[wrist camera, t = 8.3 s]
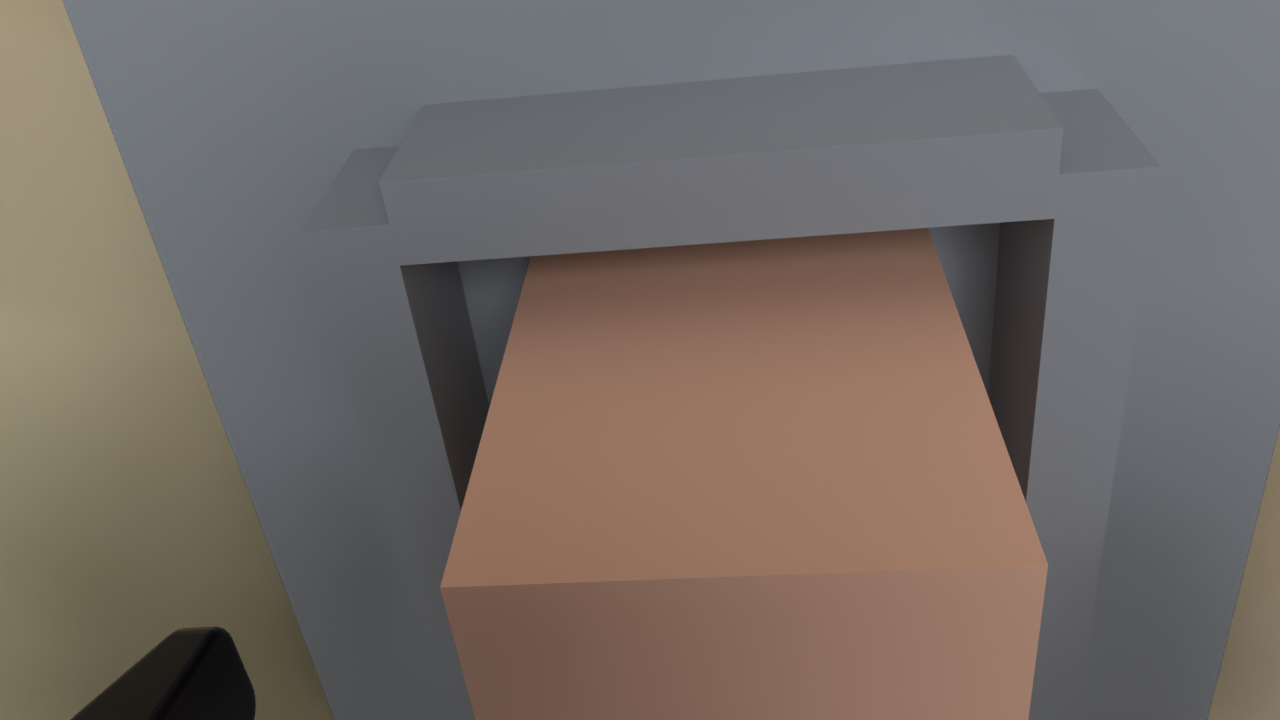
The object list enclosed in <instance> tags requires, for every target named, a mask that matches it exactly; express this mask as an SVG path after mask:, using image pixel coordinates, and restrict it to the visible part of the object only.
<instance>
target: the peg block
mask: <svg viewBox="0 0 1280 720" xmlns="http://www.w3.org/2000/svg"><path fill="white" fill-rule="evenodd" d="M1047 570H1048V563H1047V560H1046V557H1045V554H1044V552H1043V549H1042V546H1041V543H1040V540H1039V538H1038V535H1037V532H1036V529H1035V526H1034V524H1033V521H1032V518H1031V515H1030V512H1029V510H1028V507H1027V504H1026V501H1025V498H1024V496H1023V493H1022V490H1021V487H1020V484H1019V482H1018V479H1017V476H1016V473H1015V470H1014V468H1013V465H1012V462H1011V459H1010V456H1009V454H1008V451H1007V448H1006V445H1005V442H1004V440H1003V437H1002V434H1001V431H1000V428H999V426H998V423H997V420H996V417H995V414H994V412H993V409H992V406H991V403H990V400H989V398H988V395H987V392H986V389H985V386H984V384H983V381H982V378H981V375H980V372H979V370H978V367H977V364H976V361H975V358H974V356H973V353H972V350H971V347H970V344H969V342H968V339H967V336H966V333H965V330H964V328H963V325H962V322H961V319H960V316H959V314H958V311H957V308H956V305H955V302H954V300H953V297H952V294H951V291H950V288H949V286H948V283H947V280H946V277H945V274H944V272H943V269H942V266H941V263H940V260H939V258H938V255H937V252H936V249H935V246H934V244H933V241H932V238H931V235H930V232H929V230H928V228H918V229H904V230H890V231H876V232H862V233H848V234H834V235H820V236H807V237H793V238H779V239H765V240H751V241H737V242H723V243H709V244H695V245H681V246H667V247H653V248H639V249H625V250H611V251H597V252H583V253H569V254H555V255H541V256H531V258H530V262H529V265H528V269H527V273H526V276H525V280H524V284H523V287H522V291H521V295H520V298H519V302H518V305H517V309H516V313H515V316H514V320H513V324H512V327H511V331H510V335H509V338H508V342H507V346H506V349H505V353H504V356H503V360H502V364H501V367H500V371H499V375H498V378H497V382H496V386H495V389H494V393H493V397H492V400H491V404H490V407H489V411H488V415H487V418H486V422H485V426H484V429H483V433H482V437H481V440H480V444H479V448H478V451H477V455H476V458H475V462H474V466H473V469H472V473H471V477H470V480H469V484H468V488H467V491H466V495H465V499H464V502H463V506H462V509H461V513H460V517H459V520H458V524H457V528H456V531H455V535H454V539H453V542H452V546H451V550H450V553H449V557H448V560H447V564H446V568H445V571H444V575H443V579H442V582H441V586H440V589H441V593H442V597H443V601H444V604H445V608H446V612H447V616H448V619H449V623H450V627H451V631H452V634H453V638H454V642H455V645H456V649H457V653H458V657H459V660H460V664H461V668H462V672H463V675H464V679H465V683H466V687H467V690H468V694H469V698H470V702H471V705H472V709H473V713H474V717H475V720H1028V718H1029V710H1030V702H1031V695H1032V687H1033V679H1034V671H1035V664H1036V656H1037V648H1038V640H1039V632H1040V625H1041V617H1042V609H1043V601H1044V594H1045V586H1046V578H1047Z"/></svg>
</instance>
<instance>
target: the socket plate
mask: <svg viewBox="0 0 1280 720" xmlns="http://www.w3.org/2000/svg"><path fill="white" fill-rule="evenodd" d="M62 1H63V3H64V6H65V8H66V11H67V14H68V16H69V19H70V22H71V24H72V27H73V30H74V32H75V35H76V38H77V40H78V43H79V46H80V48H81V51H82V53H83V56H84V59H85V61H86V64H87V67H88V69H89V72H90V75H91V77H92V80H93V83H94V85H95V88H96V90H97V93H98V96H99V98H100V101H101V104H102V106H103V109H104V112H105V114H106V117H107V120H108V122H109V125H110V128H111V130H112V133H113V135H114V138H115V141H116V143H117V146H118V149H119V151H120V154H121V157H122V159H123V162H124V165H125V167H126V170H127V172H128V175H129V178H130V180H131V183H132V186H133V188H134V191H135V194H136V196H137V199H138V202H139V204H140V207H141V210H142V212H143V215H144V217H145V220H146V223H147V225H148V228H149V231H150V233H151V236H152V239H153V241H154V244H155V247H156V249H157V252H158V254H159V257H160V260H161V262H162V265H163V268H164V270H165V273H166V276H167V278H168V281H169V284H170V286H171V289H172V292H173V294H174V297H175V299H176V302H177V305H178V307H179V310H180V313H181V315H182V318H183V321H184V323H185V326H186V329H187V331H188V334H189V336H190V339H191V342H192V344H193V347H194V350H195V352H196V355H197V358H198V360H199V363H200V366H201V368H202V371H203V374H204V376H205V379H206V381H207V384H208V387H209V389H210V392H211V395H212V397H213V400H214V403H215V405H216V408H217V411H218V413H219V416H220V419H221V421H222V424H223V426H224V429H225V432H226V434H227V437H228V440H229V442H230V445H231V448H232V450H233V453H234V456H235V458H236V461H237V463H238V466H239V469H240V471H241V474H242V477H243V479H244V482H245V485H246V487H247V490H248V493H249V495H250V498H251V501H252V503H253V506H254V508H255V511H256V514H257V516H258V519H259V522H260V524H261V527H262V530H263V532H264V535H265V538H266V540H267V543H268V545H269V548H270V551H271V553H272V556H273V559H274V561H275V564H276V567H277V569H278V572H279V575H280V577H281V580H282V583H283V585H284V588H285V590H286V593H287V596H288V598H289V601H290V604H291V606H292V609H293V612H294V614H295V617H296V620H297V622H298V625H299V627H300V630H301V633H302V635H303V638H304V641H305V643H306V646H307V649H308V651H309V654H310V657H311V659H312V662H313V665H314V667H315V670H316V672H317V675H318V678H319V680H320V683H321V686H322V688H323V691H324V694H325V696H326V699H327V702H328V704H329V707H330V709H331V712H332V715H333V717H334V720H475V717H474V713H473V709H472V705H471V702H470V698H469V694H468V690H467V687H466V683H465V679H464V675H463V672H462V668H461V664H460V660H459V657H458V653H457V649H456V645H455V642H454V638H453V634H452V631H451V627H450V623H449V619H448V616H447V612H446V608H445V604H444V601H443V597H442V593H441V589H440V586H441V582H442V579H443V575H444V571H445V568H446V564H447V560H448V557H449V553H450V550H451V546H452V542H453V539H454V535H455V531H456V528H457V524H458V520H459V517H460V513H461V509H462V506H463V502H464V499H465V495H466V491H467V488H468V484H469V480H470V477H471V473H472V469H473V466H474V462H475V458H476V455H477V451H478V448H479V444H480V440H481V437H482V433H483V429H484V426H485V422H486V418H487V415H488V411H489V407H490V404H491V400H492V397H493V393H494V389H495V386H496V382H497V378H498V375H499V371H500V367H501V364H502V360H503V356H504V353H505V349H506V346H507V342H508V338H509V335H510V331H511V327H512V324H513V320H514V316H515V313H516V309H517V305H518V302H519V298H520V295H521V291H522V287H523V284H524V280H525V276H526V273H527V269H528V265H529V262H530V258H531V256H541V255H555V254H569V253H583V252H597V251H611V250H625V249H639V248H653V247H667V246H681V245H695V244H709V243H723V242H737V241H751V240H765V239H779V238H793V237H807V236H820V235H834V234H848V233H862V232H876V231H890V230H904V229H918V228H928V230H929V232H930V235H931V238H932V241H933V244H934V246H935V249H936V252H937V255H938V258H939V260H940V263H941V266H942V269H943V272H944V274H945V277H946V280H947V283H948V286H949V288H950V291H951V294H952V297H953V300H954V302H955V305H956V308H957V311H958V314H959V316H960V319H961V322H962V325H963V328H964V330H965V333H966V336H967V339H968V342H969V344H970V347H971V350H972V353H973V356H974V358H975V361H976V364H977V367H978V370H979V372H980V375H981V378H982V381H983V384H984V386H985V389H986V392H987V395H988V398H989V400H990V403H991V406H992V409H993V412H994V414H995V417H996V420H997V423H998V426H999V428H1000V431H1001V434H1002V437H1003V440H1004V442H1005V445H1006V448H1007V451H1008V454H1009V456H1010V459H1011V462H1012V465H1013V468H1014V470H1015V473H1016V476H1017V479H1018V482H1019V484H1020V487H1021V490H1022V493H1023V496H1024V498H1025V501H1026V504H1027V507H1028V510H1029V512H1030V515H1031V518H1032V521H1033V524H1034V526H1035V529H1036V532H1037V535H1038V538H1039V540H1040V543H1041V546H1042V549H1043V552H1044V554H1045V557H1046V560H1047V563H1048V570H1047V578H1046V586H1045V594H1044V601H1043V609H1042V617H1041V625H1040V632H1039V640H1038V648H1037V656H1036V664H1035V671H1034V679H1033V687H1032V695H1031V702H1030V710H1029V718H1028V720H1207V719H1208V715H1209V711H1210V707H1211V703H1212V699H1213V695H1214V690H1215V686H1216V682H1217V678H1218V674H1219V670H1220V666H1221V662H1222V658H1223V654H1224V650H1225V646H1226V642H1227V638H1228V634H1229V630H1230V626H1231V621H1232V617H1233V613H1234V609H1235V605H1236V601H1237V597H1238V593H1239V589H1240V585H1241V581H1242V577H1243V573H1244V569H1245V565H1246V561H1247V557H1248V552H1249V548H1250V544H1251V540H1252V536H1253V532H1254V528H1255V524H1256V520H1257V516H1258V512H1259V508H1260V504H1261V500H1262V496H1263V492H1264V488H1265V483H1266V479H1267V475H1268V471H1269V467H1270V463H1271V459H1272V455H1273V451H1274V447H1275V443H1276V439H1277V435H1278V431H1279V427H1280V0H62Z"/></svg>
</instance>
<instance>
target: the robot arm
mask: <svg viewBox="0 0 1280 720" xmlns="http://www.w3.org/2000/svg"><path fill="white" fill-rule="evenodd" d="M255 706H256V705H255V694H254V690H253V686H252V684H251V682H250V679H249V677H248V675H247V672H246V670H245V668H244V665H243V663H242V661H241V658H240V656H239V653H238V651H237V649H236V646H235V644H234V642H233V639H232V638H231V636H230V634H229V633H228V632H227V631H226V630H225V629H223V628H219V627H200V628H183V629H179V630H177V631H175V632H173V633H171V634H170V635H169V636H167V637H166V638H165V639H164V640H163V641H162V642H160V643H159V644H158V645H157V646H156V647H155V648H153V649H152V650H151V651H150V652H149V653H147V654H146V655H145V656H144V657H143V658H142V659H140V660H139V661H138V662H137V663H136V664H135V665H133V666H132V667H131V668H130V669H129V670H128V671H126V672H125V673H124V674H123V675H122V676H121V677H119V678H118V679H117V680H116V681H115V682H114V683H112V684H111V685H110V686H109V687H108V688H106V689H105V690H104V691H103V692H102V693H101V694H99V695H98V696H97V697H96V698H95V699H94V700H92V701H91V702H90V703H89V704H88V705H87V706H85V707H84V708H83V709H82V710H81V711H80V712H78V713H77V714H76V715H75V716H74V717H73V718H71V719H70V720H254V717H255Z"/></svg>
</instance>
